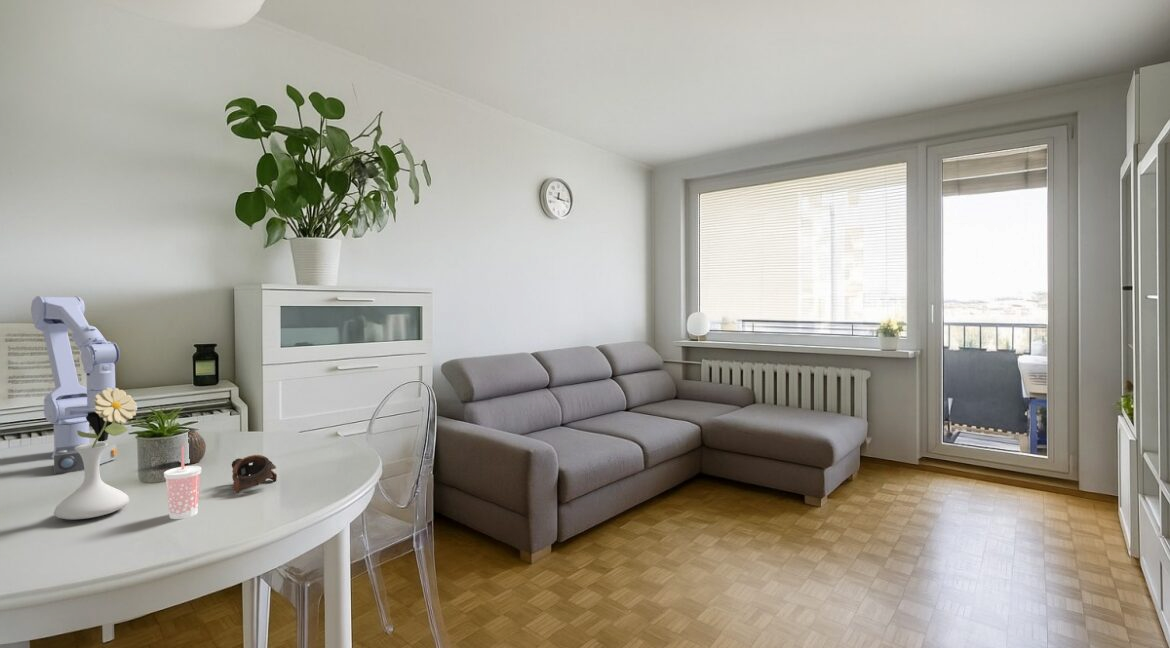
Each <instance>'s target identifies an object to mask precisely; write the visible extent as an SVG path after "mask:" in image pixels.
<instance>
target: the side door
mask: <svg viewBox="0 0 1170 648" xmlns="http://www.w3.org/2000/svg"><path fill="white" fill-rule="evenodd" d="M117 455H118V449H117V443H112V444H109V445H107V446H106V447H105V449H104V450H103V452H102V455H101V458H100V465H101V464H105V463H107V462H110V461H112V460H115V459H117Z"/></svg>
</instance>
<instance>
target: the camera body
mask: <svg viewBox="0 0 1170 648" xmlns="http://www.w3.org/2000/svg"><path fill="white" fill-rule="evenodd" d="M82 445H84V444H82ZM76 446H79V445H74V446H65V447H57V448H56V451H55V454H54V458H53V462H54V463H53V464H54V465H53V467H54V468H53V469H54V471H53V472H54V473H58V474H65V473H70V472H69V471H72V472H78V471H77V470H79V471H83V470H82V469H84V463H83V460H82V457H81V455H80V454H79V452H78V451H76V450H75V449H74V448H75V447H76ZM64 472H65V473H64Z"/></svg>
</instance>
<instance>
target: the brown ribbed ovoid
mask: <svg viewBox="0 0 1170 648" xmlns="http://www.w3.org/2000/svg"><path fill="white" fill-rule="evenodd" d="M188 429H189V430H190V431H189V432H188V443H189V459H190V464H189V465H193V464H196V463H199V462H201V460H203V458H204V456H205V454H206V451H207V450H206V449H207V448H206V447H207V445H206V441H205V439H204V438H203V437H202V435H200V434H199V433H198V432H197V429H196V428H188Z"/></svg>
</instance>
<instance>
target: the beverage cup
mask: <svg viewBox="0 0 1170 648" xmlns="http://www.w3.org/2000/svg"><path fill="white" fill-rule="evenodd" d="M180 464H181V465H180V466H179V467H173V468H171V469H170V468H169V469H167V470H166V471H165V470H164V472H163V475H164V476H163V478H164V479H165V484H166V493H167V494H166V495H167V502H168V504H167V505H168V515H169V518H170V519H173V520H180V519H188V518H190V517H194V516H196V515H197V514H198V511H199V498H200V497H199V493H200V492H199V491H200V479H201V478H200V477H201V473H202V467H201V466H199V465H186V466H185V464H184V445H181V463H180Z"/></svg>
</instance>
